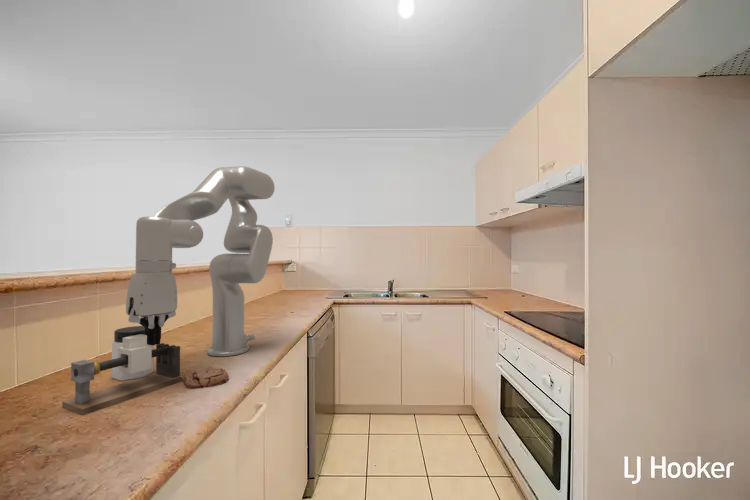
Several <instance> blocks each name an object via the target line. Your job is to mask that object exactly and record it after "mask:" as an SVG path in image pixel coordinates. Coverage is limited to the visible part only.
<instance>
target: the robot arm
mask: <svg viewBox="0 0 750 500" xmlns="http://www.w3.org/2000/svg"><path fill="white" fill-rule="evenodd" d="M275 189H276V188H275V182H274V181H273V178H272V177H271V176H270V175H269V174H267V173H265V172H261V171H259V170H257V169H255V168H251V167H248V166H241V165H240V166H223V167H217V168H215V169H213V170H212V171H211V172H210V173H209V174H208V175H207V176H206V177H205V178H204V180H202V182H201V183H200V184H199V185H198V186H197V187H196V188H195V189H194V190H192V192H190V193H188V194H186V195H184V196H182V197H180V198H178V199H176V200H173V202H170V203H168V204H167V205H165V206H163V207H162V208H161V209H160V210H159V211H157V212H156V213H155V214H154V215H153V216H141V217H139V218H138V219H137V221H136V227H135V229H136V230H135V231H136V232H135V273H132V274H131V275H130V279H129V282H128V286H127V292H126V301H125V302H126V303H125V313H126V315H128V322H129V323H133V324H140V326H142V327H143V328H145V335H147V344H148V345H154V346H156V345H157V344H161V339H162V327H164V325H165V323H166V321H167V320H168V319H171V318H173V317H175V316H176V315H177V313H176V310H177V308H178V289H177V288H178V286H177V281H176V275H175V273H173V269H175V268H176V267H177V264H176V262H173V249H190V248H194V247H196V246H198V245H199V244H200V243H201V242H202V240H203V238H204V231H203V228H202V226H201V225H200V224H199V223H197V222H196V221H197V220H200V219H204V218H207V217H210V216H213V215H214V214H216V213H218V212H219V211H220V210H221V208H222V207H223V205H224V204H225V203H226V202H227V200H229V203H230V207H231V210H232V211H231V215H230V219H229V222H228V225H227V228H226V231H225V234H224V237H223V247H224V248H225V250H226V251H228V252H229V253H221V254H218V255H216V256H214V257H213V258H212V259H211V260H210V263H209V266H208V267H209V268H208V269H209V270H208V271H209V277H210V281H211V288H212V334H211V335H212V339H211V340H212V341H211V342H212V346H210V347H208V348H207V350H206V354H207V355H209V356H213V357H230V356H237V355H241V354H244V353H246V352H248V351H249V350H250V345H249V344H247V343H248V342H249V341H250V342H251V341H252V340H255V338H256V335H255V334H254V333H251V334H248V335H247V334H245V295H244V291H243V289H242V287H241V286H240V284H257V283H259V282H261V281H262V280H263V279H264V277H265V274H266V271H267V267H268V264H269V260H270V256H271V252H272V248H273V240H274V239H273V238H274V237H273V233H272V230H271V229H270V228H269V227H268V226H266V225H263V224H257V222H258V214H257V211H256V209H255V207H253V206H252V203H251V202H250V200H254V201H255V200H268V199H270V198H271V197H273V195H274V193H275ZM176 269H177V268H176Z"/></svg>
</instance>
